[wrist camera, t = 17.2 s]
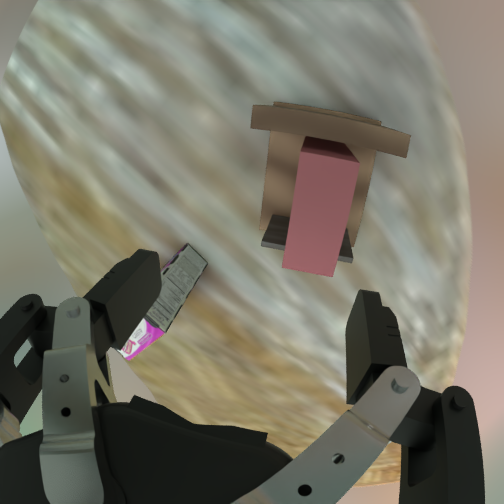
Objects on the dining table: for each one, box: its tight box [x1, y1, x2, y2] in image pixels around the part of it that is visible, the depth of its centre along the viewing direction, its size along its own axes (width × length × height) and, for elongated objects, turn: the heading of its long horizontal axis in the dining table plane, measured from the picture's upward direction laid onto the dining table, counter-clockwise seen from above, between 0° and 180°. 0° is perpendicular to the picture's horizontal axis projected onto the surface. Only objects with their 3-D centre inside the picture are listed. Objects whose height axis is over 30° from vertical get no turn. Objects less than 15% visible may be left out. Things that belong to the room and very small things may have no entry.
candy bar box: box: [114, 244, 208, 361], centre depth 40 cm, size 11×5×16 cm, turn 136°
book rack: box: [251, 102, 411, 263], centre depth 30 cm, size 17×13×13 cm
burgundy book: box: [282, 136, 360, 277], centre depth 28 cm, size 10×4×14 cm, turn 174°
